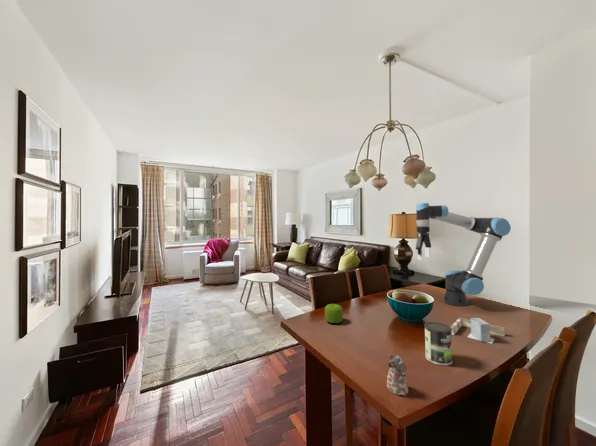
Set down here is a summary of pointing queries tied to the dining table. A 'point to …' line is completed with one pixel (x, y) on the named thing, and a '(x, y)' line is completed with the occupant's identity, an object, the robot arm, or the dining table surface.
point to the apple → (333, 313)
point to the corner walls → (467, 323)
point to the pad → (479, 340)
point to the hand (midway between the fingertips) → (423, 258)
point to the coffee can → (438, 343)
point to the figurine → (397, 376)
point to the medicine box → (480, 329)
